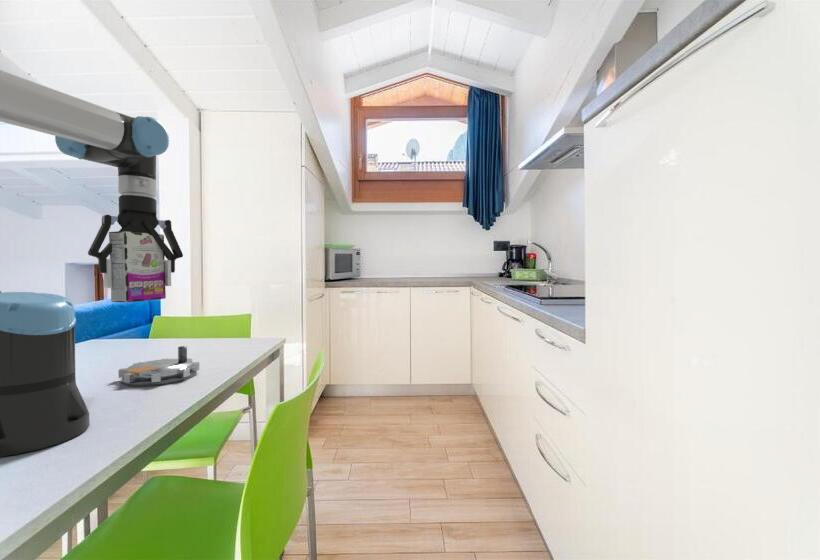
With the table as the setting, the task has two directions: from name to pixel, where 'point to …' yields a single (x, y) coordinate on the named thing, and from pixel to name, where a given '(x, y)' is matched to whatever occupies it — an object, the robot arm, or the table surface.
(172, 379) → the bearing base
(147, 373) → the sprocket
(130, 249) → the candy bar box
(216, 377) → the table surface
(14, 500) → the table surface
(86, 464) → the table surface
